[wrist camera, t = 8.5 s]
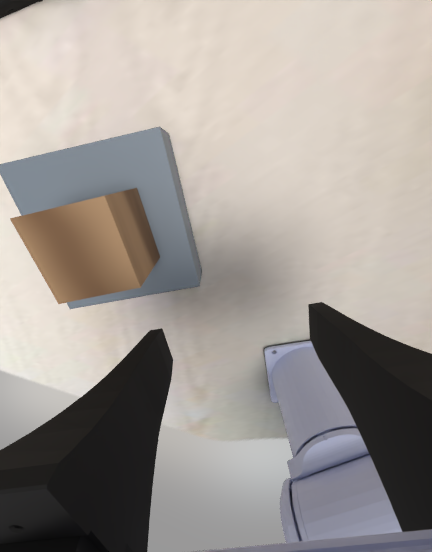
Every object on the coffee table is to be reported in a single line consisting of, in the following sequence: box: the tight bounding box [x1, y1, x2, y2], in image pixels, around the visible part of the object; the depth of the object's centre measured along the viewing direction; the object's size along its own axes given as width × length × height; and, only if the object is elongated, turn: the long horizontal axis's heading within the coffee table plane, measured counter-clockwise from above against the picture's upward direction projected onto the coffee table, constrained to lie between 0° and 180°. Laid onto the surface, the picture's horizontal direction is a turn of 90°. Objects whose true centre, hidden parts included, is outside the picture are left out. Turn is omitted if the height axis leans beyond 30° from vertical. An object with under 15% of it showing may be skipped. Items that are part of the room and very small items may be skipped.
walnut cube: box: [11, 188, 160, 304], centre depth 15 cm, size 5×5×5 cm
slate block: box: [0, 127, 202, 309], centre depth 19 cm, size 11×11×4 cm
